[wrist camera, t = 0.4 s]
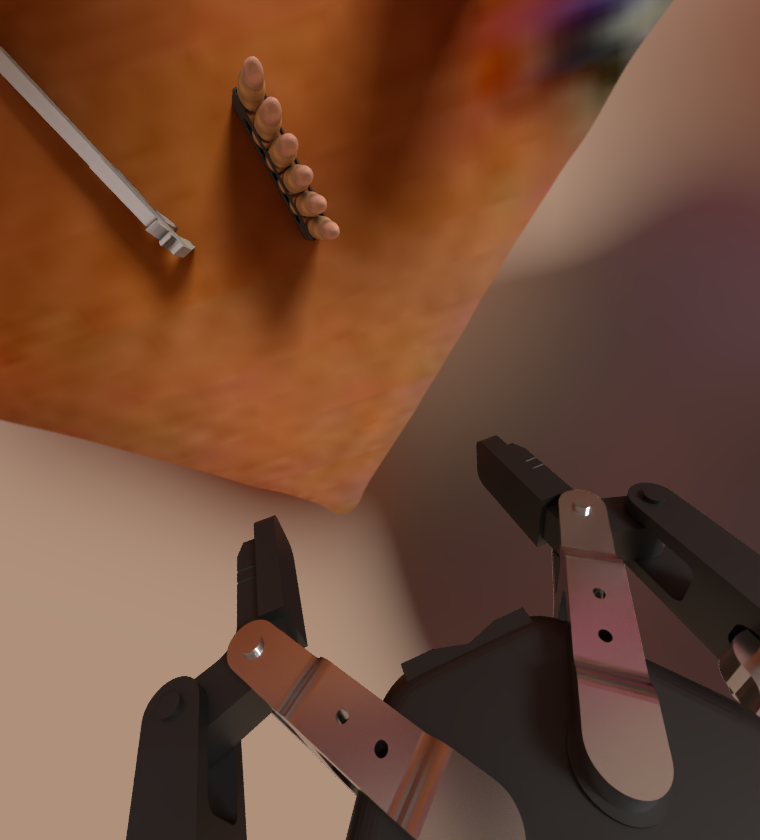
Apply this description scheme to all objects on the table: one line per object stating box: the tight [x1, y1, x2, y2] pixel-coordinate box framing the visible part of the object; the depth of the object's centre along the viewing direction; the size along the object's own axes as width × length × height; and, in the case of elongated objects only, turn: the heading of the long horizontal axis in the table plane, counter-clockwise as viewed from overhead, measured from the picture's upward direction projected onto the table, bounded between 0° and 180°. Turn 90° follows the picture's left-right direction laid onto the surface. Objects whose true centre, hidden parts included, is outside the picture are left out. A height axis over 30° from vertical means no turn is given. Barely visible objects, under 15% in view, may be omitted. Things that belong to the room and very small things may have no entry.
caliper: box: [0, 46, 195, 258], centre depth 24 cm, size 20×1×6 cm, turn 36°
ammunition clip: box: [232, 56, 340, 241], centre depth 26 cm, size 11×2×12 cm, turn 26°
